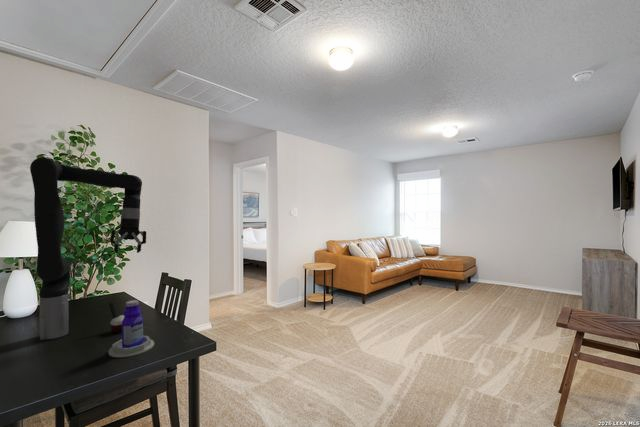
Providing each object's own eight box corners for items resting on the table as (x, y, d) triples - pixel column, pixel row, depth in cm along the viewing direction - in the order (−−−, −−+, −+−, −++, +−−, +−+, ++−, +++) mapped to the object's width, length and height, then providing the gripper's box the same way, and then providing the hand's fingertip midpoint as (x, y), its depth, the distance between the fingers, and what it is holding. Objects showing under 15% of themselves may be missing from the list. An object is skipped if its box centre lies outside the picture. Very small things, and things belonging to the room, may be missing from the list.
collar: (112, 361, 107) (112, 354, 107) (105, 348, 118) (105, 341, 118) (159, 348, 117) (159, 342, 117) (148, 336, 128) (148, 331, 128)
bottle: (131, 351, 114) (131, 304, 114) (118, 349, 115) (118, 303, 115) (146, 342, 121) (145, 299, 121) (133, 341, 122) (133, 298, 122)
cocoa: (130, 332, 134) (131, 305, 134) (113, 336, 130) (115, 308, 129) (122, 326, 140) (123, 300, 140) (106, 329, 135) (107, 302, 135)
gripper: (113, 216, 136) (109, 253, 135) (149, 218, 145) (146, 253, 143) (111, 217, 142) (108, 252, 140) (146, 219, 151) (143, 252, 149)
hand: (127, 252), depth 142 cm, fingers open, 8 cm apart
